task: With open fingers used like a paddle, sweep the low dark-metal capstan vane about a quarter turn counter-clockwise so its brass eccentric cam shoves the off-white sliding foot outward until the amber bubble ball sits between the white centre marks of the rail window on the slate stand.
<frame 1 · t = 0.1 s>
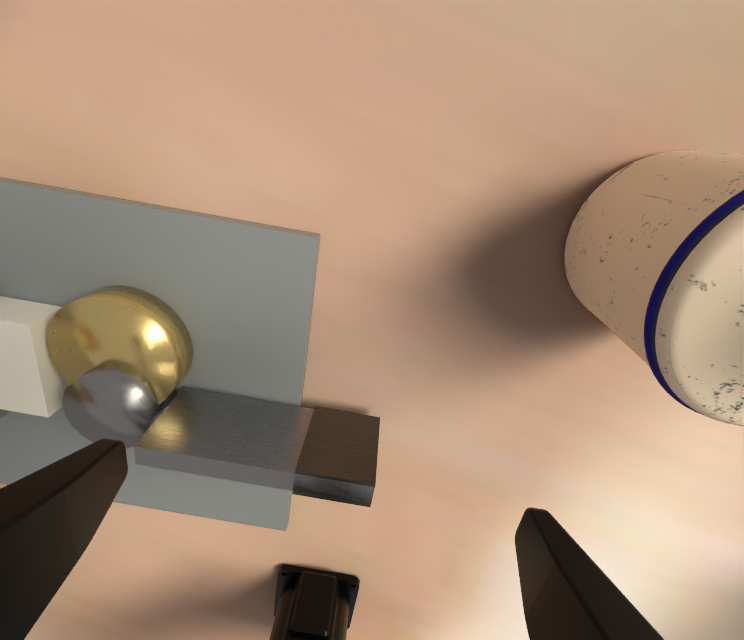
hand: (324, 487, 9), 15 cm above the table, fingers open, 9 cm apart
level stand: (146, 376, 26), on the table
cam capstan: (212, 399, 22), point 4 cm above the table, hinge at 0.0°
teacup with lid: (678, 237, 21), on the table
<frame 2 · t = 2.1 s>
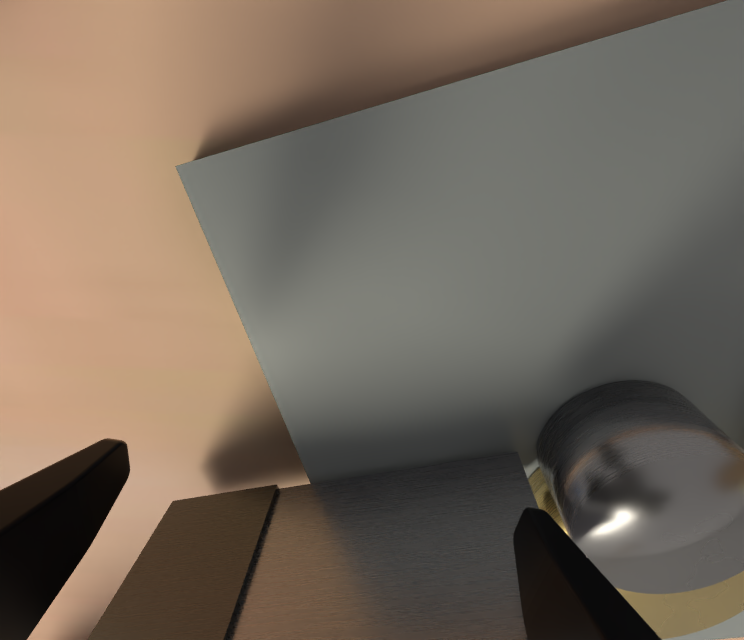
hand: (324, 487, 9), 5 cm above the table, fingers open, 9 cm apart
level stand: (603, 427, 13), on the table
cam capstan: (454, 596, 12), point 4 cm above the table, hinge at 0.1°, touching gripper
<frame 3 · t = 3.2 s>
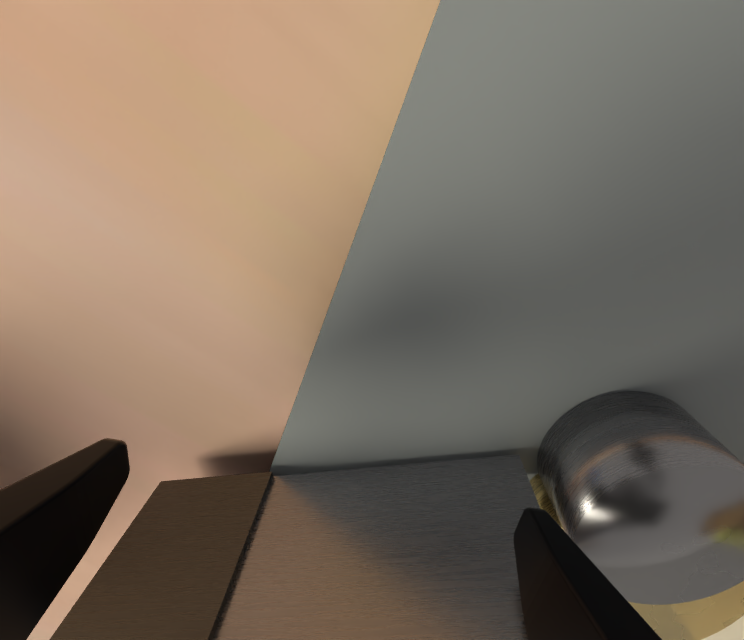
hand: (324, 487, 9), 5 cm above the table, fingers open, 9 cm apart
level stand: (602, 437, 14), on the table
cam capstan: (447, 595, 12), point 4 cm above the table, hinge at 30.3°, touching gripper
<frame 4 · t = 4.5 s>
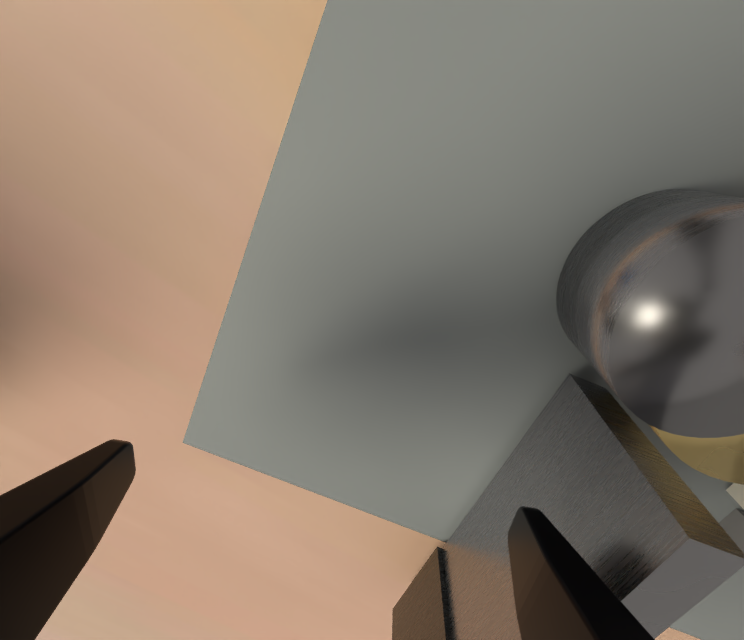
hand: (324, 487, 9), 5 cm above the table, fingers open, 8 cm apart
level stand: (634, 275, 11), on the table
cam capstan: (635, 544, 11), point 4 cm above the table, hinge at 92.2°, touching gripper
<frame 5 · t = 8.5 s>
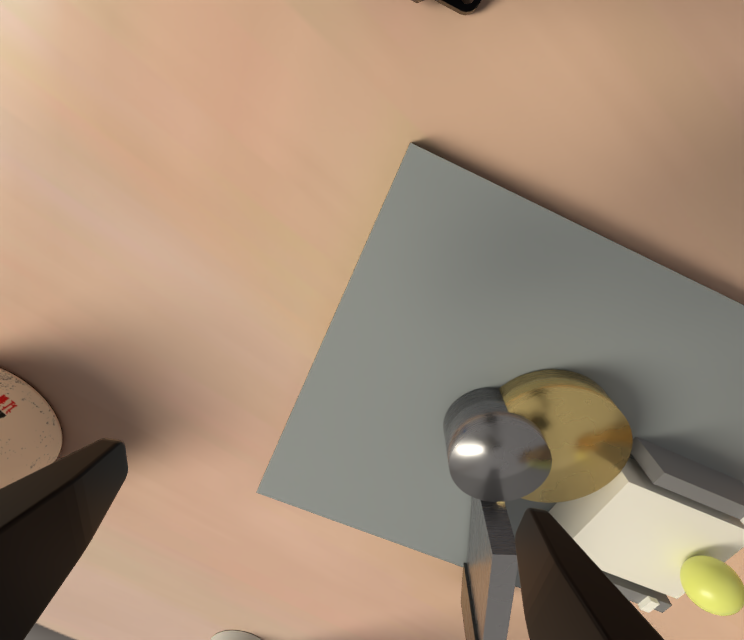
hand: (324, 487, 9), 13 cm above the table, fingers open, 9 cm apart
level stand: (484, 414, 23), on the table
cam foot: (655, 546, 22), point 3 cm above the table, slide at 2.6 cm
cam capstan: (528, 543, 22), point 4 cm above the table, hinge at 116.3°
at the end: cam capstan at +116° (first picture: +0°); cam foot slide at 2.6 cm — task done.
